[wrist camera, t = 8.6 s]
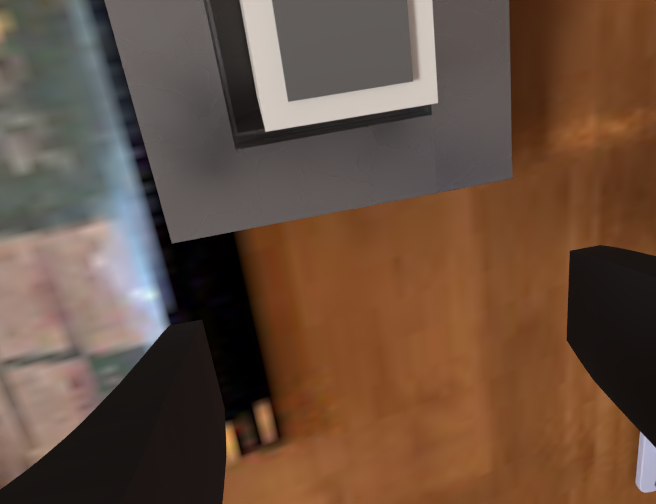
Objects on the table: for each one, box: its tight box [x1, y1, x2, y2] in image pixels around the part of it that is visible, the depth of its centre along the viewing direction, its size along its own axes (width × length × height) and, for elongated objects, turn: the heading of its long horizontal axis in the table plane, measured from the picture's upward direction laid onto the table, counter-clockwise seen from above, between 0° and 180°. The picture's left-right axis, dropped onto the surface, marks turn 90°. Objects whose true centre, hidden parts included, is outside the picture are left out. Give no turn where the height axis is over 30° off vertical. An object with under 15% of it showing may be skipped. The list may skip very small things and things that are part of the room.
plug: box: [239, 0, 438, 132], centre depth 15 cm, size 4×4×6 cm
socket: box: [105, 0, 512, 243], centre depth 17 cm, size 11×11×2 cm
